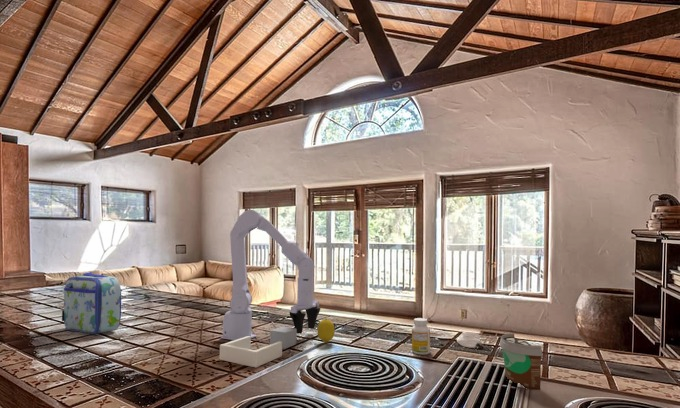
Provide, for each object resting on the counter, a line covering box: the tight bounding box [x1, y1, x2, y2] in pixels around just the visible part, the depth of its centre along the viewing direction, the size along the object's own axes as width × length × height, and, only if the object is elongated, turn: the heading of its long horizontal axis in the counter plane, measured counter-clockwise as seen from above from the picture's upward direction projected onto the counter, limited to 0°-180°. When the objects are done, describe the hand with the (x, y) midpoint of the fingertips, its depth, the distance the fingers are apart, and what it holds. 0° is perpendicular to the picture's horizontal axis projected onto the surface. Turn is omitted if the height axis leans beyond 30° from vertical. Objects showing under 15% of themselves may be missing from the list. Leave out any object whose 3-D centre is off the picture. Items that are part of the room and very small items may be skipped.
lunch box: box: [61, 272, 122, 335], centre depth 141 cm, size 26×11×21 cm, turn 58°
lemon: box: [317, 317, 336, 344], centre depth 124 cm, size 6×6×8 cm
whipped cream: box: [456, 331, 484, 349], centre depth 122 cm, size 8×7×5 cm
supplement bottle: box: [411, 317, 431, 356], centre depth 114 cm, size 5×5×10 cm
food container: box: [499, 332, 543, 391], centre depth 91 cm, size 12×6×10 cm, turn 5°
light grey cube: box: [269, 326, 298, 350], centre depth 122 cm, size 6×6×5 cm
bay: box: [219, 336, 283, 368], centre depth 109 cm, size 14×11×4 cm
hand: (305, 330), depth 132 cm, fingers open, 7 cm apart
